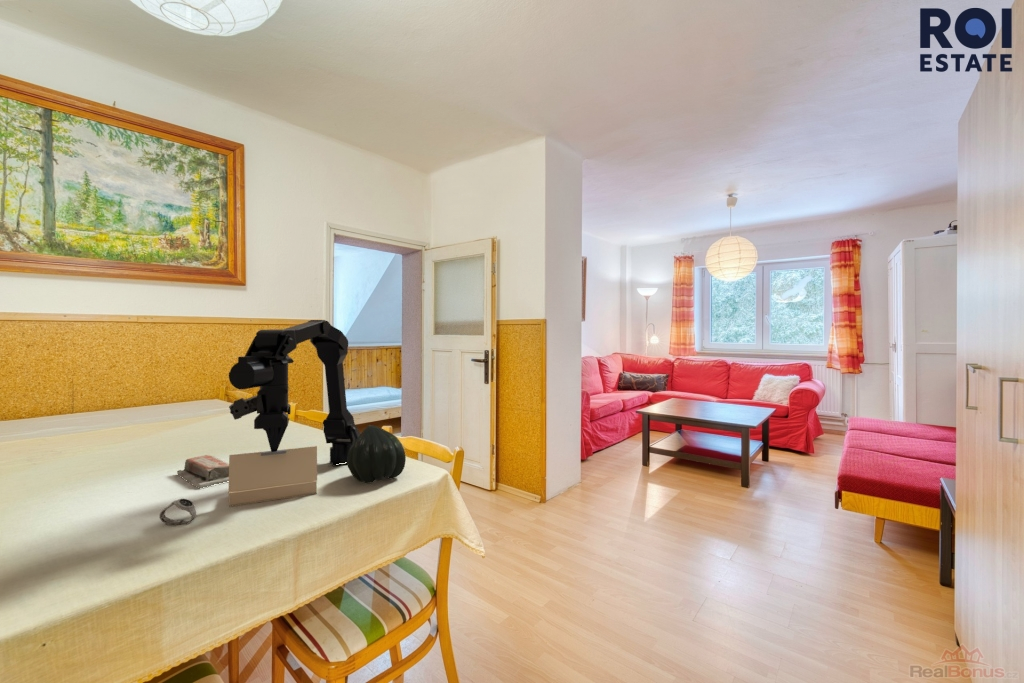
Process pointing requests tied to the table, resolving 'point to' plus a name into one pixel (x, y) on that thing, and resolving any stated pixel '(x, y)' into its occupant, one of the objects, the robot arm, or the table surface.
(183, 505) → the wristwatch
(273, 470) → the lid
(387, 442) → the squash
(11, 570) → the table surface
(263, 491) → the cardboard box
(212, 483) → the packaged product
